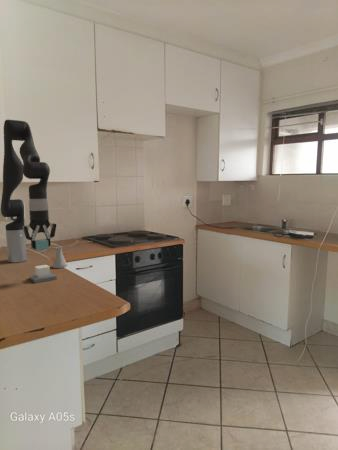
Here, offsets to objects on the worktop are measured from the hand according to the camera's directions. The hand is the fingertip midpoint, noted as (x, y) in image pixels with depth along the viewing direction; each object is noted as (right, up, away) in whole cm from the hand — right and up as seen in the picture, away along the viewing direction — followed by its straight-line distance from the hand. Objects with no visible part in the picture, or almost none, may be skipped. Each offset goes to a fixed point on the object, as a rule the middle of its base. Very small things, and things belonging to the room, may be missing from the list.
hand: (41, 247), depth 142 cm
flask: (+1, -11, +22) cm, 25 cm away
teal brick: (0, -1, 0) cm, 1 cm away
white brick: (0, -12, +2) cm, 12 cm away
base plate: (0, -14, +2) cm, 14 cm away
